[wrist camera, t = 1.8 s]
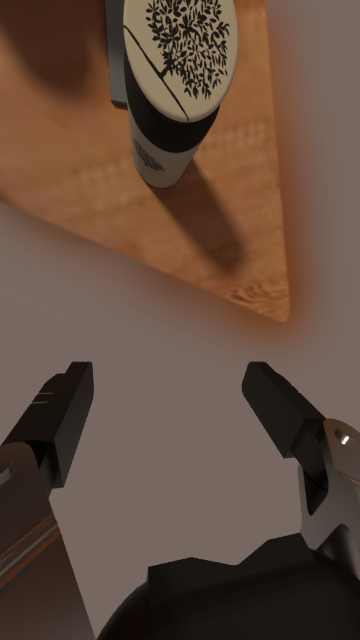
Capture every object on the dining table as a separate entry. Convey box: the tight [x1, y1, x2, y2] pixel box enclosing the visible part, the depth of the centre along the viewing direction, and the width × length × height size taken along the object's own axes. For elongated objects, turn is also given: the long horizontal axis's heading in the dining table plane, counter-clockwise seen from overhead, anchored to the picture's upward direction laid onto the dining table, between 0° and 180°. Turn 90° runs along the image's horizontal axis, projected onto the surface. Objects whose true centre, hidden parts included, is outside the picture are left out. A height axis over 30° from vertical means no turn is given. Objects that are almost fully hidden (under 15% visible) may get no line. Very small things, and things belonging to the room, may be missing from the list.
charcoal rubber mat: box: [105, 0, 128, 106], centre depth 22 cm, size 13×17×1 cm
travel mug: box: [123, 0, 238, 188], centre depth 20 cm, size 8×8×18 cm
